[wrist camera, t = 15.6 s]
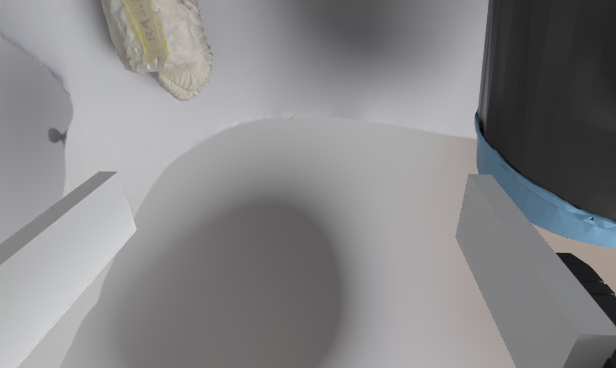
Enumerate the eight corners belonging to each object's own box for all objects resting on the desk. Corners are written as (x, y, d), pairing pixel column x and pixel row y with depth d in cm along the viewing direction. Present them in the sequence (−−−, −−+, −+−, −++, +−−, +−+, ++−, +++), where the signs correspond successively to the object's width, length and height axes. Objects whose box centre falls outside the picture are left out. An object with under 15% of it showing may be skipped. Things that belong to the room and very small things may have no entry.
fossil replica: (182, 106, 40) (248, 50, 38) (158, 132, 33) (237, 66, 30) (93, 12, 35) (161, -60, 33) (41, 19, 28) (123, -73, 25)
